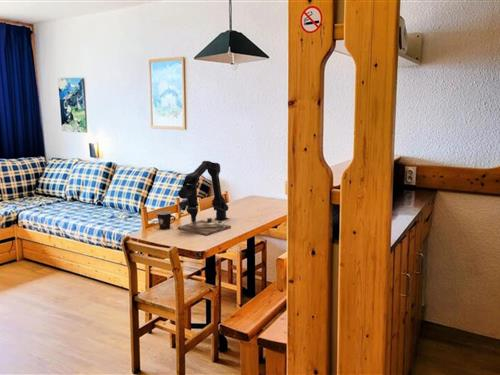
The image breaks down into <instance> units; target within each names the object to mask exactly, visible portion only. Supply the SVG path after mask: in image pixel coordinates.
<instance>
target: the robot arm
mask: <svg viewBox="0 0 500 375" xmlns="http://www.w3.org/2000/svg"><path fill="white" fill-rule="evenodd" d="M206 171H207V174H209V176H210V178H211V184H212V190H213V196H214V197H213V199H212V200H211V203H212V208H213V210H214V211H215V212H216V213H215V215H216V216H215V217H214V219H215V220H217V219H218V220H217V221H224V220H228V219H229V217H227V211H229V205H228V204H227V203H226V199H225V197H224V196H223V195H222V188H221V181H220V173H221V165H220V163H218V162H213V161H210V160H203V161H202V162H201V164H200V165H199V166H198V167H197V168H196V169H195V170H194V171H193V172H190V173H188V174H187V175H186V176H185V177H184V181H183V184H182V186H181V187H180V189H179V190H178V193H177V195H178V197H179V198H180V199H183V200H181V201H180V202H179V203H178V206H179V209H183V208H185V207H187V209H186V211H187V213H188V214H190V219H191V218H192V222H195V219H196V220H197V216H198V212H199V202H198V188H199V185H198V184H199V181H200V178H201V177H202V176H203V174H204V173H205V172H206Z"/></svg>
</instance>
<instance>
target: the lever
mask: <svg viewBox="0 0 500 375" xmlns="http://www.w3.org/2000/svg"><path fill="white" fill-rule="evenodd" d="M190 219H191V220H190V222H191V225H194V227H207V226H218V227H222V226H224V224H225V222H224V221H223V220H217V222H214V223H199V224H196V222H197V218H196V219H195V222H192V218H191V217H190Z"/></svg>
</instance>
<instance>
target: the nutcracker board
mask: <svg viewBox="0 0 500 375" xmlns="http://www.w3.org/2000/svg"><path fill="white" fill-rule="evenodd" d="M206 219H207V220H204V219H203V220H202V219H201V220H196V224H199V223H215V222H214V221H213V219H212V218H210V217H209V218H206ZM231 228H232V226H231V225H229V224H225V223H224V226H222V227H218V226H207V227H194V225H191V223H186V224H183V225H180V226H177V230H180V231H184V232H189V233H193V234H197V235H200V236H201V235H202V236H206V237H207V236H212V235H214V234H216V233H220V232H223V231H227V230H229V229H231Z"/></svg>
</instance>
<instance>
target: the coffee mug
mask: <svg viewBox="0 0 500 375" xmlns="http://www.w3.org/2000/svg"><path fill="white" fill-rule="evenodd" d="M156 216H157V219H158V220H157V221H158V225H159V230H163V231H165V230H169V229H171V225H172V224H173V223H174V222H175V220H176V217H175V216H174V215H172V212H171V211H169V210H168V211H166V210H165V211H159V212H157V213H156ZM171 217H173V220H172V219H171ZM171 220H172V221H171Z"/></svg>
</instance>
